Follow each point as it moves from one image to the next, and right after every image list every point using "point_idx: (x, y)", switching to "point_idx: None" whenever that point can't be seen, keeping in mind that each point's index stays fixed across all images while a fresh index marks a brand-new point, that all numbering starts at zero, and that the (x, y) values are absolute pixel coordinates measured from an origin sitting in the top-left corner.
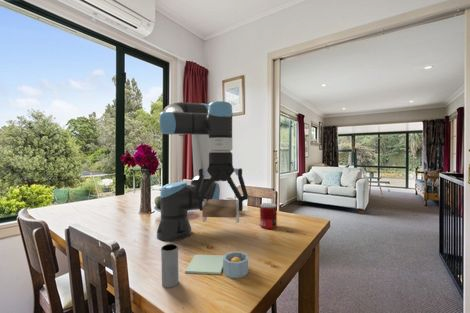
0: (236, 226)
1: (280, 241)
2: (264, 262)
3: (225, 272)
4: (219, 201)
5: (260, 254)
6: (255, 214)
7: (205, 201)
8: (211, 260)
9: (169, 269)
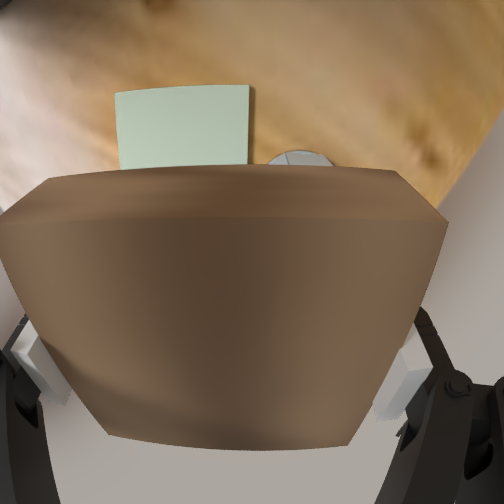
0: None
1: None
2: (406, 132)
3: None
4: (164, 333)
5: (399, 65)
6: None
7: (53, 381)
8: (193, 133)
9: None
